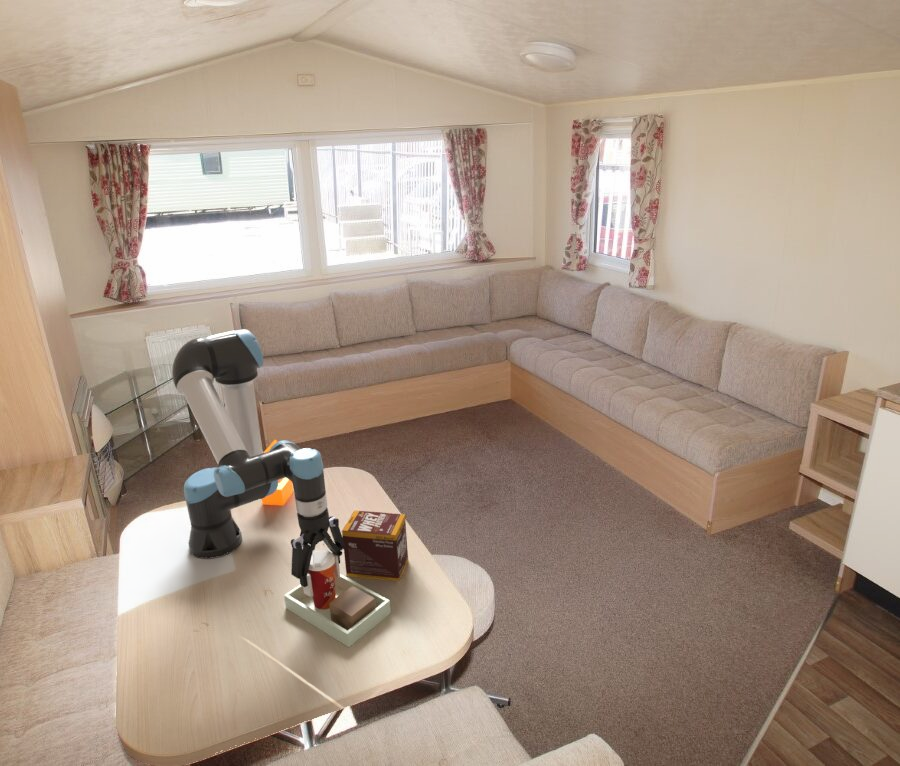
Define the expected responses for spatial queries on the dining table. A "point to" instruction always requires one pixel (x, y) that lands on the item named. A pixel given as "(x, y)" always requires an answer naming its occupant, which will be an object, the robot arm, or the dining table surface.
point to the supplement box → (375, 545)
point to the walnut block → (351, 607)
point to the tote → (322, 618)
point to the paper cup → (322, 578)
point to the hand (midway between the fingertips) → (322, 584)
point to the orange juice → (279, 489)
